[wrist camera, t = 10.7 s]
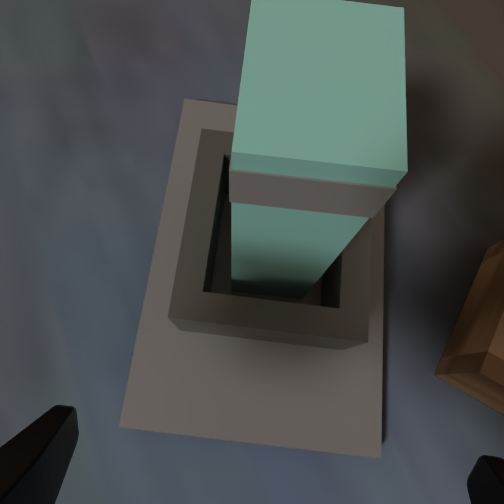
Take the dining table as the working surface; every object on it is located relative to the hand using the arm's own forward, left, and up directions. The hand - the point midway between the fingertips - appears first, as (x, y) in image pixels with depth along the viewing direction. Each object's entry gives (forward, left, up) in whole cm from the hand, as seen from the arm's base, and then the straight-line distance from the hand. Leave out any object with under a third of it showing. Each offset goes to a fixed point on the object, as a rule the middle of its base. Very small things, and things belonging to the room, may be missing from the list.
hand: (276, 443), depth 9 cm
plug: (+4, +7, -10) cm, 13 cm away
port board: (+4, +7, -11) cm, 14 cm away
